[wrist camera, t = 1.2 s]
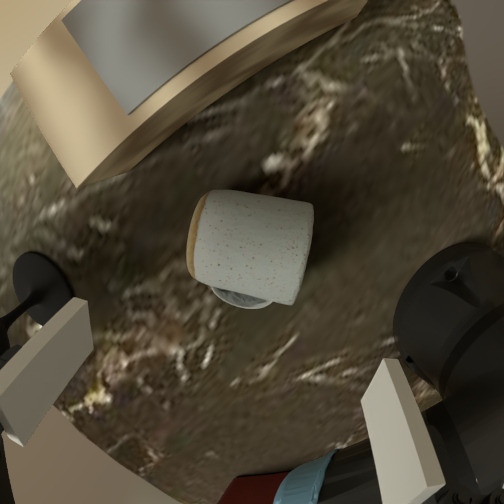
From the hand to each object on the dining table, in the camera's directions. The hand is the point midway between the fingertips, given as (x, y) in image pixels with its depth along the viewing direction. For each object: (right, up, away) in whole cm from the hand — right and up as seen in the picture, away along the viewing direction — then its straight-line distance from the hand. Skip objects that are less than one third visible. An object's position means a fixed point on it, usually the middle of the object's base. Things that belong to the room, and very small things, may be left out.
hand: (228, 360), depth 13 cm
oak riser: (-4, +22, +9) cm, 24 cm away
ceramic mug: (+1, +5, +15) cm, 16 cm away
